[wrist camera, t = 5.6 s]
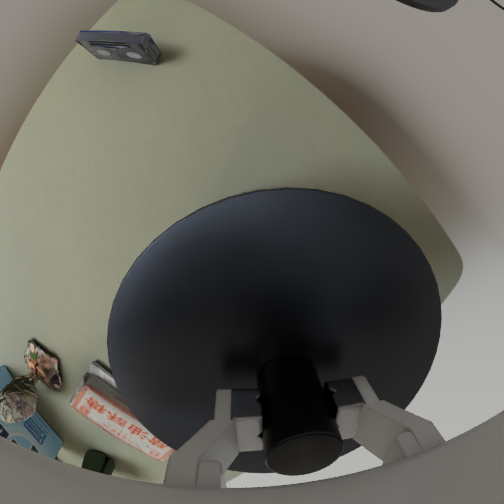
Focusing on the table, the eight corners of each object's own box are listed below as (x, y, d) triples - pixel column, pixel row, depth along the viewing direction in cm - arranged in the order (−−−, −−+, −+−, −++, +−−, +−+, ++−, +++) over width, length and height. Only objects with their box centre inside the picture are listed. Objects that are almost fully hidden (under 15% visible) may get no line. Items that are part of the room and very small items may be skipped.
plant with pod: (20, 371, 34) (-40, 440, 14) (31, 331, 32) (-49, 407, 12) (55, 401, 35) (4, 481, 16) (71, 366, 33) (5, 460, 14)
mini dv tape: (161, 54, 25) (147, 30, 19) (156, 65, 25) (140, 43, 20) (102, 48, 24) (81, 28, 18) (97, 58, 24) (74, 40, 19)
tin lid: (444, 191, 10) (534, 206, 5) (392, 435, 14) (423, 493, 9) (91, 200, 10) (0, 220, 5) (156, 456, 13) (141, 524, 8)
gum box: (-6, 367, 33) (-70, 435, 11) (6, 364, 33) (-63, 438, 11) (51, 442, 38) (11, 517, 16) (65, 442, 38) (25, 524, 16)
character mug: (132, 469, 39) (118, 520, 27) (114, 475, 40) (99, 521, 28) (86, 437, 37) (63, 488, 25) (71, 445, 38) (49, 490, 25)
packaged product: (61, 411, 30) (80, 377, 28) (74, 392, 35) (94, 357, 33) (163, 472, 33) (198, 449, 32) (167, 451, 38) (200, 425, 36)
